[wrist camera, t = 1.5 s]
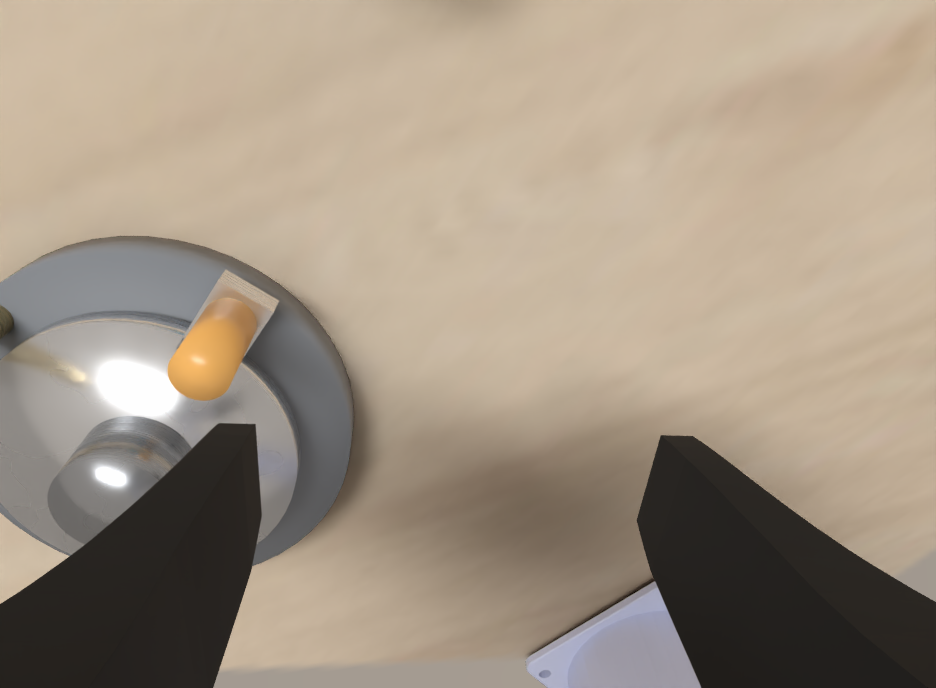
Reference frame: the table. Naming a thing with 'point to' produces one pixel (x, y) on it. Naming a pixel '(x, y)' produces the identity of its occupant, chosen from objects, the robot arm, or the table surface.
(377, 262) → the table surface
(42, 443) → the flange
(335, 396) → the post base
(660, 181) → the table surface
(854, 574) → the robot arm
